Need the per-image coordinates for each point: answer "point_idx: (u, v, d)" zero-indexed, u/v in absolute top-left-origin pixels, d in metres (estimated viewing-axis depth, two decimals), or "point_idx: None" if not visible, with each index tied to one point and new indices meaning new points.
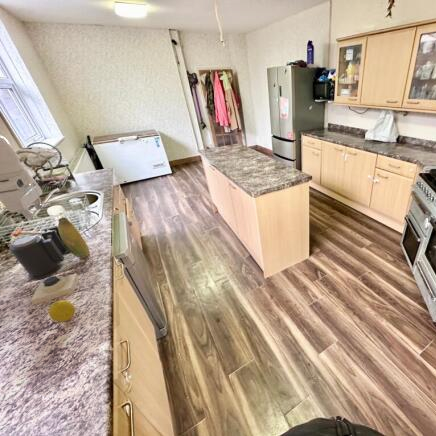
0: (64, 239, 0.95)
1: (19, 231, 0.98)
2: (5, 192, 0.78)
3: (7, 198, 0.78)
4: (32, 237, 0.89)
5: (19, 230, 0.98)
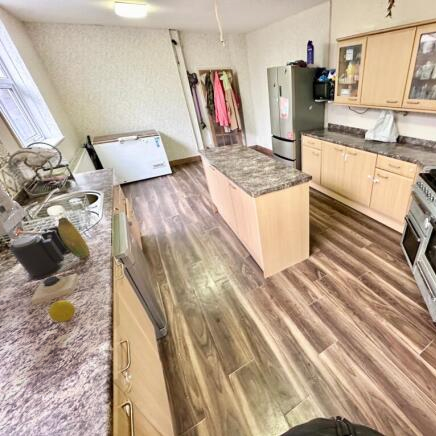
0: (64, 239, 0.95)
1: (19, 231, 0.98)
2: None
3: None
4: (32, 237, 0.89)
5: (19, 230, 0.98)
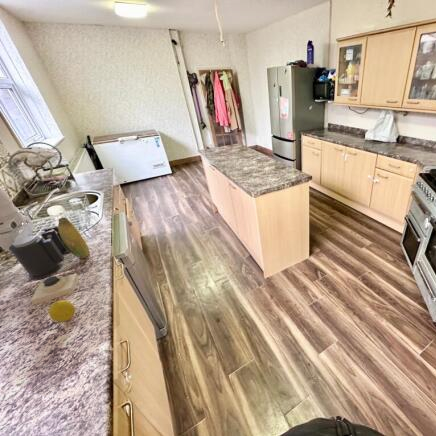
0: (64, 239, 0.95)
1: None
2: (0, 234, 0.89)
3: (2, 239, 0.89)
4: (32, 237, 0.89)
5: None
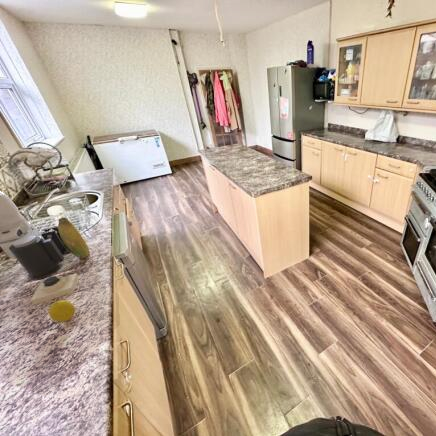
0: (64, 239, 0.95)
1: None
2: (7, 242, 0.91)
3: None
4: (32, 237, 0.89)
5: None
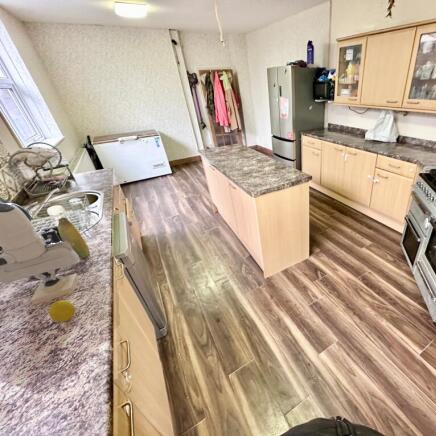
0: (64, 239, 0.95)
1: None
2: None
3: None
4: None
5: None
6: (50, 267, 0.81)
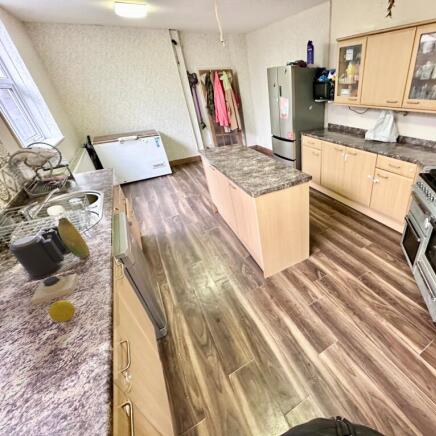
0: (64, 239, 0.95)
1: None
2: None
3: None
4: (32, 237, 0.89)
5: None
6: None
